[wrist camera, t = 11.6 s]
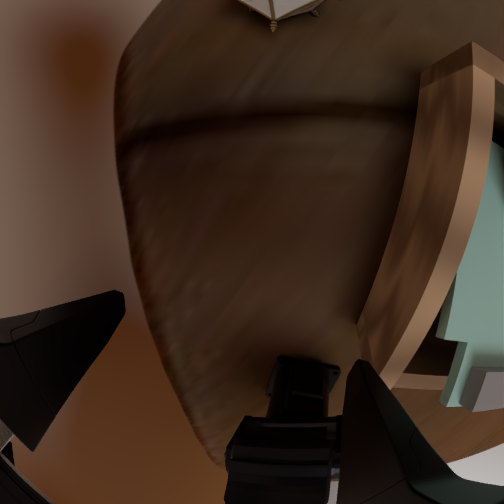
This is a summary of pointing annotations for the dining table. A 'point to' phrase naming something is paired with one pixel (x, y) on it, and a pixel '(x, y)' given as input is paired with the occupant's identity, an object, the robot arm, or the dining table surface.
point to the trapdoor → (479, 304)
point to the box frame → (433, 219)
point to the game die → (282, 8)
